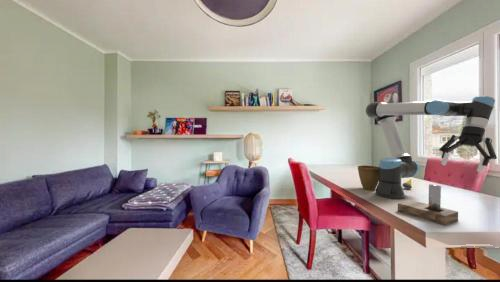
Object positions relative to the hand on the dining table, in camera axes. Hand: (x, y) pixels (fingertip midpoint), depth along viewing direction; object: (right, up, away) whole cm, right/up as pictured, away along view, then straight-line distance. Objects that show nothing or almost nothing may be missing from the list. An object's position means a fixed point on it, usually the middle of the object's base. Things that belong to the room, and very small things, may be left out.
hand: (460, 168), depth 99 cm
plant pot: (-20, -21, +42) cm, 51 cm away
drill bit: (+9, -21, +45) cm, 50 cm away
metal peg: (-20, -21, -8) cm, 30 cm away
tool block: (-22, -22, -5) cm, 31 cm away
